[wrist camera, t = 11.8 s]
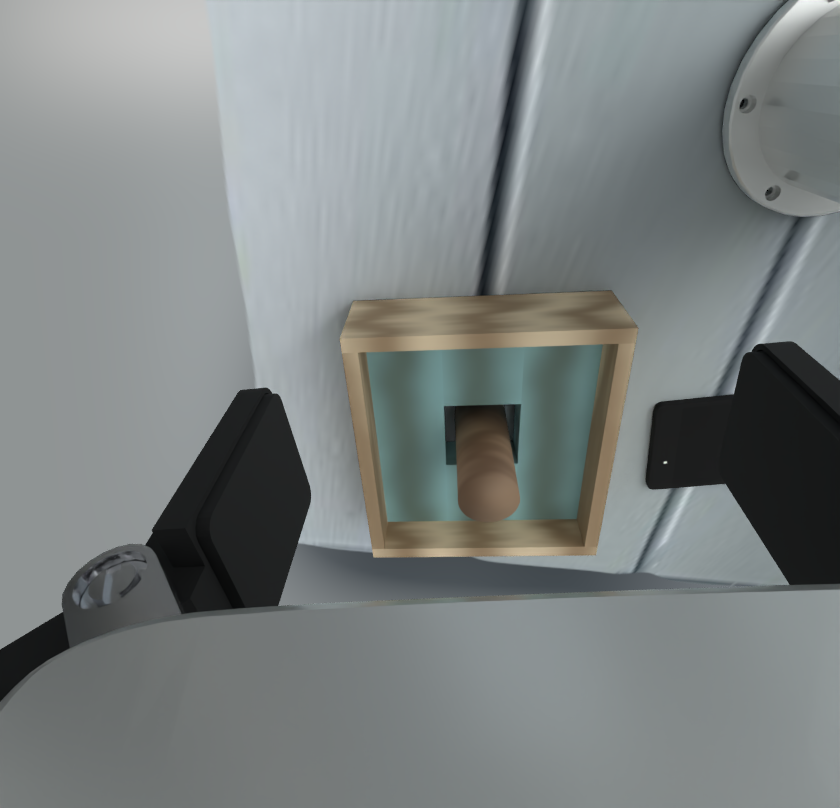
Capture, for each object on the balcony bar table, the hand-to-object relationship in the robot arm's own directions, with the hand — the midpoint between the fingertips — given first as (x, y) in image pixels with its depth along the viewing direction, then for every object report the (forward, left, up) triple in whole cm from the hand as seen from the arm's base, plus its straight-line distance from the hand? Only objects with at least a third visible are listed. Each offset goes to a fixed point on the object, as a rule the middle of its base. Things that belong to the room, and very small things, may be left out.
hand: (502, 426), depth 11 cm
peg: (-1, +18, -26) cm, 32 cm away
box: (-1, +18, -26) cm, 32 cm away
